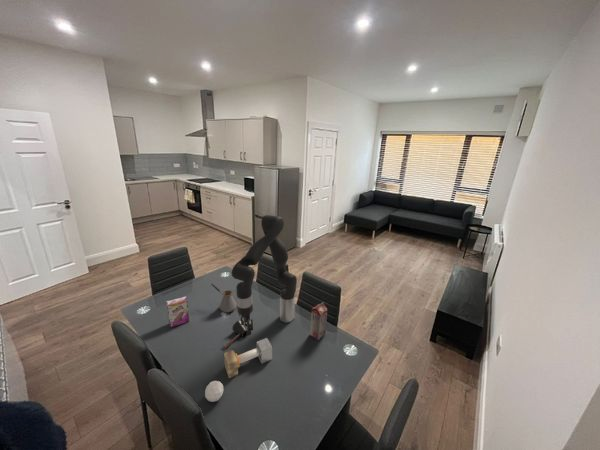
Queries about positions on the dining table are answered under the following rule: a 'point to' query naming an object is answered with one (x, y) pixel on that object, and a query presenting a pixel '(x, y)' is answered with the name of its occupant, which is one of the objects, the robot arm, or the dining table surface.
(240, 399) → the dining table surface
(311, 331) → the juice carton
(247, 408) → the dining table surface
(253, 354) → the tube
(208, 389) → the geometric ball
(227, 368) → the socket
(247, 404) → the dining table surface
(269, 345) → the grey block
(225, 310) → the coffee pot
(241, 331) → the coffee pot
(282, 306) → the robot arm
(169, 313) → the candy bar box
